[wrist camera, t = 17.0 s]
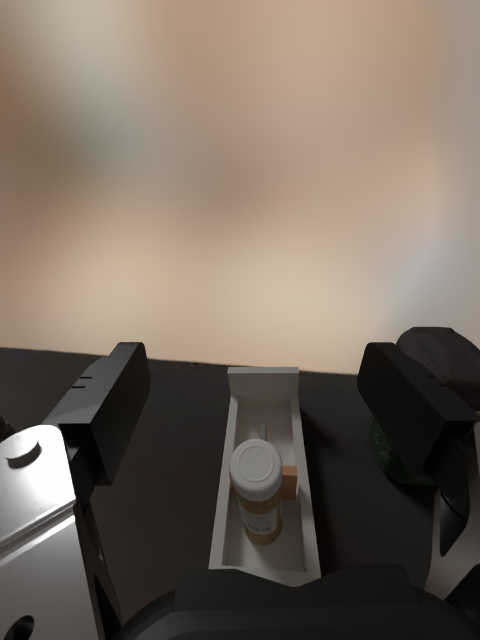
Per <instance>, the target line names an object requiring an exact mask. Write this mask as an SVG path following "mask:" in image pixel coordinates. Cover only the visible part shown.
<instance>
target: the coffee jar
mask: <svg viewBox="0 0 480 640" xmlns="http://www.w3.org/2000/svg"><path fill="white" fill-rule="evenodd" d="M396 346H397V347H398V348H400V349H401V350H402V351H403V352H404V353H405V354H406V355H407V356H409V357H411V358H412V359H414V360H416V361H418V362H419V363H421V364H423V365H424V366H425V367H427V368H428V369H429V370H430V371H431V372H432V373H433V374H434V375H435V377H436V378H439V379H440V380H441V381H442V382H443V383H444V384H445V386H446V387H449V388H450V389H451V390H452V391H453V392H454V393H455V394H456V395H457V396H458V397H460V398H461V399H462V400H463V401H464V402H465V403H466V404H467V405H468V406H470V407H471V408H472V409H473V410H474V411H475V412H476V413H477V414H478V415H479V416H480V350H479V349H478V348H477V347H476V346H475V345H474V344H473V343H472V342H470V341H469V340H467V339H466V338H465V337H463V336H462V335H460V334H458V333H457V332H455V331H454V330H453V329H452V328H444V327H413V328H411V329H409V330H407V331H406V332H404V333H403V334H402V335H401V336H400V337H399V339H398V341H397V343H396ZM368 431H369V437H370V441H371V445H372V448H373V451H374V454H375V457H376V459H377V461H378V463H379V465H380V467H381V469H382V470H383V471H384V473H385V474H386V475H388V476H389V477H390V478H392V479H393V480H395V481H398V482H400V483H404V484H408V485H415V486H432V485H436V484H435V482H434V481H418V482H415V480H414V479H413V477H412V476H411V474H410V472H409V471H408V469H407V468H406V466H405V464H404V463H403V461H402V460H401V458H400V456H399V455H398V453H397V452H396V450H395V449H394V447H393V445H392V444H391V442H390V441H389V439H388V437H387V436H386V434H385V433H384V431H383V430H382V428H381V426H380V425H379V423H378V422H377V420H376V418H375V417H374V415H373V414H372V416H371V418H370V421H369V424H368Z"/></svg>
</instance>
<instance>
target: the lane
mask: <svg viewBox="0 0 480 640" xmlns="http://www.w3.org/2000/svg"><path fill="white" fill-rule="evenodd" d="M228 379H229V385H230V391H231V400H230V408H229V416H228V424H227V431H226V439H225V447H224V454H223V462H222V470H221V477H220V485H219V493H218V501H217V508H216V516H215V524H214V531H213V539H212V547H211V554H210V562H209V569H238V570H241V571H244V572H247V573H250V574H253V575H256V576H259V577H262V578H266V579H269V580H272V581H275V582H278V583H281V584H284V585H287V586H291V587H298V586H302V585H304V584H306V583H309V582H311V581H313V580H316V579H318V578H321V573H320V565H319V557H318V549H317V542H316V534H315V526H314V518H313V511H312V503H311V495H310V487H309V480H308V472H307V464H306V456H305V449H304V441H303V433H302V425H301V418H300V410H299V402H298V382H299V369H298V367H228ZM262 424H265V425H267V442H268V443H270V444H271V445H273V446H274V447H275V448H276V450H277V451H278V453H279V455H280V457H281V460H282V465H285V466H297V475H298V476H297V489H296V500H286V499H282V515H281V516H282V528H281V532H280V535H279V536H278V537H277V539H276V540H275V541H273V542H272V543H270V544H268V545H260V544H256V543H254V542H252V541H251V540H250V539H249V537H248V536H247V535H246V533H245V530H244V527H243V520H242V516H241V512H240V507H239V503H238V499H237V497H234V493H233V489H232V485H231V481H230V476H229V465H230V460H231V457H232V454H233V452H234V451H235V449H236V448H237V447H238V446H239V445H240V444H242V443H243V442H245V441H248V440H252V439H260V440H261V425H262Z"/></svg>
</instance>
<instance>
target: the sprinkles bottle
mask: <svg viewBox="0 0 480 640" xmlns="http://www.w3.org/2000/svg"><path fill="white" fill-rule="evenodd" d="M230 473H231V478H232V482H233V485H234V487H235V489H236V493H237V499H238V503H239V507H240V512H241V516H242V520H243V527H244V530H245V533H246V535H247V536H248V537H249V539H250V540H251V541H252V542H254V543H256V544H260V545H268V544H270V543H272V542H273V541H275V540H276V539H277V537H278V536H279V535H280V532H281V528H282V516H281V515H282V499H281V483H282V478H283V468H282V460H281V457H280V455H279V453H278V451H277V450H276V448H275V447H274V446H273V445H271V444H270V443H268V442H266V441H264V440H260V439H252V440H248V441H245V442H243V443H242V444H240V445H239V446H238V447H237V448H236V449H235V451H234V452H233V454H232V457H231V460H230Z"/></svg>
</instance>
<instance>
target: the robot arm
mask: <svg viewBox="0 0 480 640" xmlns="http://www.w3.org/2000/svg"><path fill="white" fill-rule="evenodd" d="M357 385H358V390H359V393H360V395H361V396H362V398H363V399H364V401H365V403H366V404H367V406H368V407H369V409H370V410H371V412H372V414H373V415H374V417H375V418H376V420H377V422H378V423H379V425H380V426H381V428H382V430H383V431H384V433H385V434H386V436H387V437H388V439H389V441H390V442H391V444H392V445H393V447H394V449H395V450H396V452H397V453H398V455H399V456H400V458H401V460H402V461H403V463H404V464H405V466H406V468H407V469H408V471H409V472H410V474H411V476H412V477H413V479H414V480H415V482H418V481H434V482H435V484H436V485H437V487H438V489H437V491H436V493H435V496H434V517H433V542H432V562H431V568H430V572H429V576H428V578H427V581H426V585H425V589H424V590H423V589H420V588H418V587H416V586H413V585H412V583H411V581H410V579H409V577H408V574H407V572H406V570H405V568H404V566H403V564H386V565H349V566H346V567H344V568H342V569H339V570H337V571H335V572H332V573H330V574H328V575H325V576H323V577H321V578H318V579H316V580H313V581H311V582H309V583H306V584H304V585H302V586H298V587H291V586H287V585H284V584H281V583H278V582H275V581H272V580H269V579H266V578H262V577H259V576H256V575H253V574H250V573H247V572H244V571H241V570H238V569H200V570H179V571H178V578H177V585H176V589H175V590H173V591H170V592H168V593H166V594H164V595H162V596H160V597H159V598H157V599H155V600H153V601H152V602H150V603H149V604H148V605H146V606H145V607H144V608H142V609H141V610H140V611H138V612H137V613H136V614H135V615H134V616H133V617H132V618H131V619H130V620H128V621H127V622H126V623H125V624H124V620H123V616H122V613H121V609H120V606H119V603H118V599H117V596H116V593H115V590H114V587H113V584H112V581H111V578H110V575H109V572H108V568H107V564H106V561H105V557H104V553H103V549H102V545H101V541H100V538H99V534H98V530H97V526H96V522H95V519H94V515H93V511H92V507H91V504H90V501H89V499H90V496H91V494H92V492H93V490H94V488H95V486H108V485H111V484H112V482H113V479H114V477H115V475H116V472H117V470H118V467H119V465H120V462H121V460H122V458H123V455H124V453H125V450H126V448H127V446H128V443H129V441H130V438H131V436H132V434H133V431H134V429H135V426H136V424H137V421H138V419H139V417H140V414H141V412H142V409H143V407H144V405H145V402H146V400H147V397H148V395H149V391H150V373H149V368H148V362H147V356H146V351H145V346H144V344H143V343H142V342H120V343H118V344H117V346H116V347H115V348H114V350H113V351H112V352H111V353H110V355H109V356H108V357H102V358H100V359H99V360H97V361H96V362H94V363H93V364H91V365H90V366H89V367H88V368H87V369H86V370H85V372H84V373H83V374H82V375H81V376H80V379H78V380H77V381H76V382H75V384H74V385H73V388H72V389H70V390H69V391H68V392H67V393H66V395H65V396H64V397H63V398H62V399H61V401H60V402H59V403H58V404H57V406H56V407H55V408H54V409H53V410H52V412H51V413H50V414H49V415H48V416H47V418H46V419H45V420H44V421H43V422H42V424H41V425H40V426H35V427H32V428H28V429H25V430H23V431H20V432H18V433H16V434H14V433H15V432H14V428H13V427H12V426H11V425H10V424H9V423H8V422H7V421H6V420H5V419H4V418H3V417H2V416H1V415H0V640H480V416H479V415H478V414H477V413H476V412H475V411H474V410H473V409H472V408H471V407H470V406H468V405H467V404H466V403H465V402H464V401H463V400H462V399H461V398H460V397H458V396H457V395H456V394H455V393H454V392H453V391H452V390H451V389H450V388H449V387H446V386H445V384H444V383H443V382H442V381H441V380H440V379H439V378H436V377H435V375H434V374H433V373H432V372H431V371H430V370H429V369H428V368H427V367H425V366H424V365H423V364H421V363H419V362H418V361H416V360H414V359H412V358H411V357H409V356H407V355H406V354H405V353H404V352H403V351H402V350H401V349H400V348H398V347H397V346H396V345H395V344H394V343H391V342H379V343H378V342H371V343H368V344H367V346H366V348H365V351H364V355H363V359H362V362H361V366H360V370H359V374H358V378H357Z"/></svg>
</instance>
